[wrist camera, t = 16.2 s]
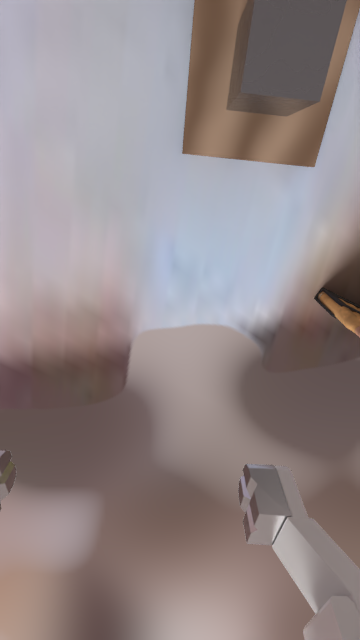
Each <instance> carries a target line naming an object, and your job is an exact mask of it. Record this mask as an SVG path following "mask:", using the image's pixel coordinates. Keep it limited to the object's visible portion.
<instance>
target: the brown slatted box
mask: <svg viewBox="0 0 360 640" xmlns="http://www.w3.org/2000/svg"><path fill="white" fill-rule="evenodd" d="M314 299H315V300H316V301H317V302H318V303H319V304H320V305H321V306H322V307H323V308H324V309H325V310H326V311H327V312H328V313H329V314H330V315H331V316H332V317H334V318H336V319H338V320H339V321H340V322H341V323H343V324H344V325H345V326H346V327H347V328H348V329H350V330H352V331H353V332H354V333H355V334H357V335H358V336H359V337H360V306H359V305H357V304H355V303H353V302H351V301H349V300H347V299H345V298H343V297H341V296H339V295H337V294H335V293H333V292H331V291H329V290H327V289H325V288H322V289H321V290H320V292H319V293H318V294H317V296H316V297H315V298H314Z"/></svg>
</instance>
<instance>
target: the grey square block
mask: <svg viewBox="0 0 360 640" xmlns="http://www.w3.org/2000/svg"><path fill="white" fill-rule="evenodd" d="M346 1H347V0H248V1H247V3H246V6H245V8H244V11H243V13H242V16H241V18H240V21H239V23H238V27H237V35H236V42H235V49H234V57H233V64H232V71H231V79H230V86H229V93H228V101H227V108H226V110H231V111H240V112H249V113H258V114H267V115H277V116H286V117H287V116H289V115H291V114H294V113H296V112H298V111H300V110H302V109H305V108H307V107H309V106H311V105H313V104H316V103H318V102H320V99H321V96H322V92H323V88H324V84H325V81H326V77H327V73H328V69H329V66H330V62H331V58H332V54H333V50H334V47H335V43H336V39H337V35H338V32H339V28H340V24H341V20H342V17H343V13H344V9H345V5H346Z"/></svg>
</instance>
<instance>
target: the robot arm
mask: <svg viewBox="0 0 360 640" xmlns="http://www.w3.org/2000/svg"><path fill="white" fill-rule="evenodd" d="M11 458H12V455H11V452H10V451H9V450H0V501H1V500H2V499H4V498H5V497H6V496H7V495H8V494H9V493H10V491H11V489H12V487H13V485H14V481H15V478H16V467H15V464H13V463H12V462H11V461H10V460H11ZM243 473H244V475H243V476H242V477H241V478H240V481H239V488H238V493H239V502H240V507H241V508H242V509H243V511H244V512H245V516H244V519H243V525H244V530H245V536H246V542H247V544H261V545H273V546H272V548H273V550H274V551H275V553H276V554H277V556H278V557H279V559H280V560H281V561H282V563H283V565H284V566H285V568H286V569H287V571H288V572H289V574H290V575H291V577H292V579H293V580H294V582H295V583H296V585H297V586H298V588H299V589H300V591H301V592H302V594H303V595H304V597H305V598H306V600H307V601H308V603H309V605H310V606H311V607H312V609H313V610H314V612H315V614H316V615H315V616H314V617H313V618H312V619H311V620H310V621H309V623H308V624H307V625H306V626H305V628H304V630H303V633H304V638H305V640H360V569H359V568H358V567H357V566H356V565H355V564H354V563H353V561H351V559H350V558H349V557H348V556H347V555H346V554H345V553H344V552H343V550H342V549H341V548H340V547H339V546H338V545H337V544H336V543H335V542H334V541H333V540H332V539H331V538H330V537H329V535H328V534H327V533H326V532H325V531H324V530H323V529H322V528H321V527H320V525H319V524H318V523H317V522H316V521H315V520H314V519H313V518H308V515H307V512H306V510H305V507H304V504H303V502H302V499H301V496H300V493H299V491H298V488H297V485H296V482H295V480H294V477H293V474H292V472H291V470H290V468H289V467H287V466H273V465H257V464H246V465H245V466H244V468H243ZM0 510H1V503H0Z"/></svg>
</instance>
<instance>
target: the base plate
mask: <svg viewBox="0 0 360 640" xmlns="http://www.w3.org/2000/svg"><path fill="white" fill-rule="evenodd" d="M247 1H248V0H195V3H194V16H193V28H192V40H191V53H190V65H189V77H188V90H187V102H186V115H185V127H184V139H183V152H182V154H191V155H201V156H210V157H220V158H229V159H239V160H249V161H258V162H268V163H277V164H287V165H296V166H306V167H314V166H315V163H316V159H317V156H318V152H319V149H320V145H321V142H322V138H323V135H324V131H325V128H326V124H327V121H328V117H329V114H330V110H331V107H332V103H333V100H334V96H335V93H336V89H337V86H338V82H339V78H340V75H341V71H342V68H343V64H344V61H345V57H346V54H347V50H348V47H349V43H350V40H351V36H352V33H353V29H354V26H355V22H356V19H357V15H358V12H359V8H360V0H347V1H346V5H345V9H344V13H343V17H342V20H341V24H340V28H339V32H338V35H337V39H336V43H335V47H334V50H333V54H332V58H331V62H330V66H329V69H328V73H327V77H326V81H325V84H324V88H323V92H322V96H321V99H320V102H318V103H316V104H313V105H311V106H309V107H307V108H305V109H302V110H300V111H298V112H296V113H294V114H291V115H289V116H287V117H286V116H277V115H267V114H258V113H249V112H240V111H231V110H226V108H227V101H228V93H229V86H230V79H231V71H232V64H233V57H234V49H235V42H236V35H237V27H238V23H239V21H240V18H241V16H242V13H243V11H244V8H245V6H246V3H247Z"/></svg>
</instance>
